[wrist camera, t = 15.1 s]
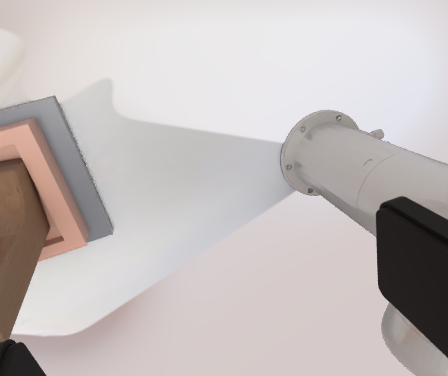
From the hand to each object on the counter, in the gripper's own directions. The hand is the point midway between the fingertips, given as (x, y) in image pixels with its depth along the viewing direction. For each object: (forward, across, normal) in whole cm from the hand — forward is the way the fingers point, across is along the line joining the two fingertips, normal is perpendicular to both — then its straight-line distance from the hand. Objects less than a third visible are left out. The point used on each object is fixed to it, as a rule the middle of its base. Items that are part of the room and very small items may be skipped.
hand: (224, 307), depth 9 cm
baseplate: (+36, +17, +6) cm, 41 cm away
